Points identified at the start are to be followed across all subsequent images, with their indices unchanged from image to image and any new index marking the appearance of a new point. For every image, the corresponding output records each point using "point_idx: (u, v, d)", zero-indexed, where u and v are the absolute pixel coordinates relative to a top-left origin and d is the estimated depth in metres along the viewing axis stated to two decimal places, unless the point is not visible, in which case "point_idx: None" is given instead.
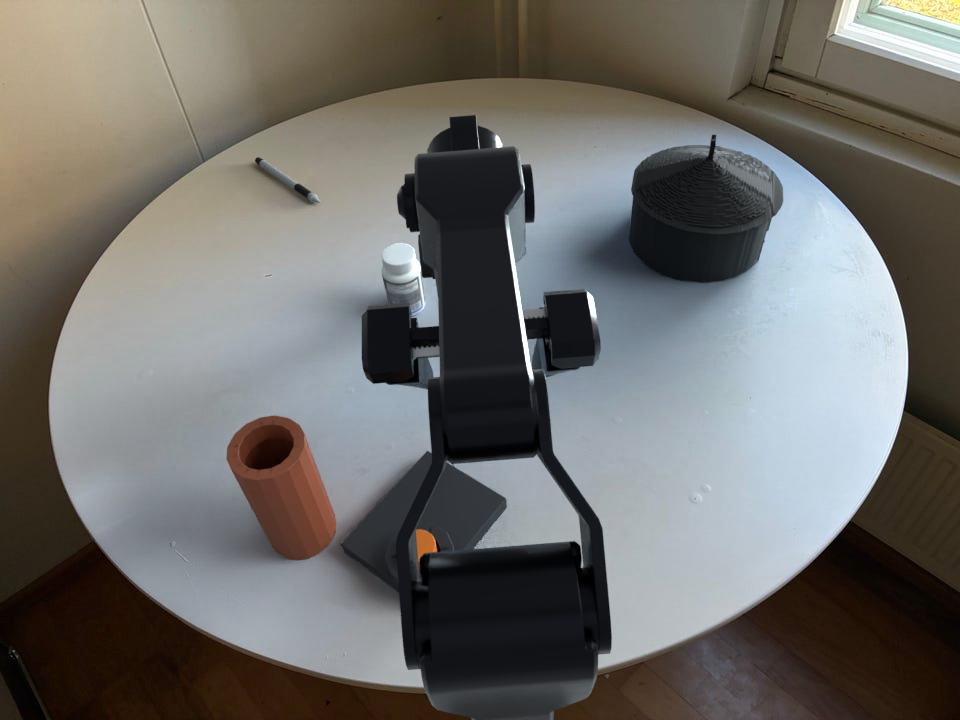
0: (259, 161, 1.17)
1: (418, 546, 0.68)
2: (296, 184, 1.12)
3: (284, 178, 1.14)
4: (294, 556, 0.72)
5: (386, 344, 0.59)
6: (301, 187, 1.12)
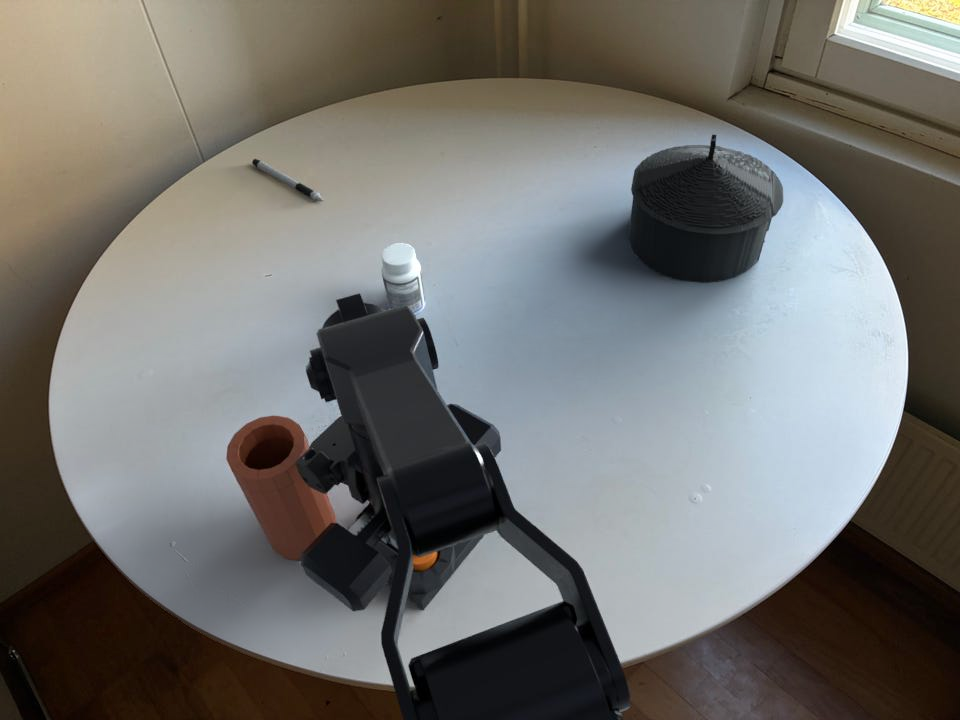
0: (257, 163, 1.17)
1: None
2: (297, 183, 1.12)
3: (284, 178, 1.14)
4: (294, 556, 0.72)
5: (352, 563, 0.57)
6: (303, 186, 1.12)
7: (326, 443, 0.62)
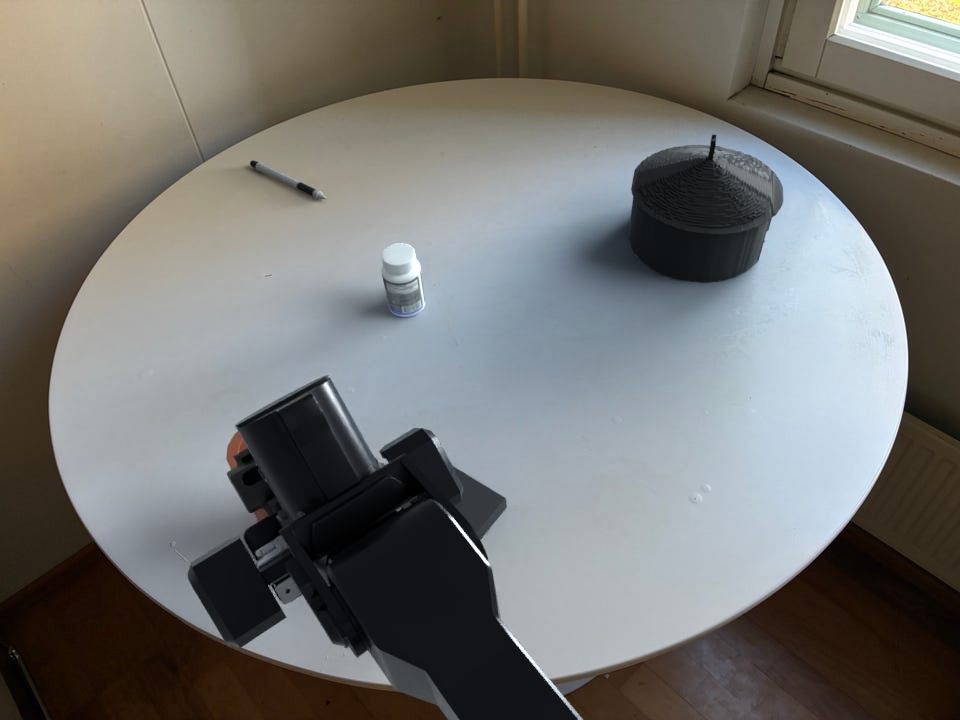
0: (255, 164, 1.17)
1: None
2: (298, 183, 1.13)
3: (285, 178, 1.14)
4: None
5: (247, 612, 0.49)
6: (304, 185, 1.12)
7: None
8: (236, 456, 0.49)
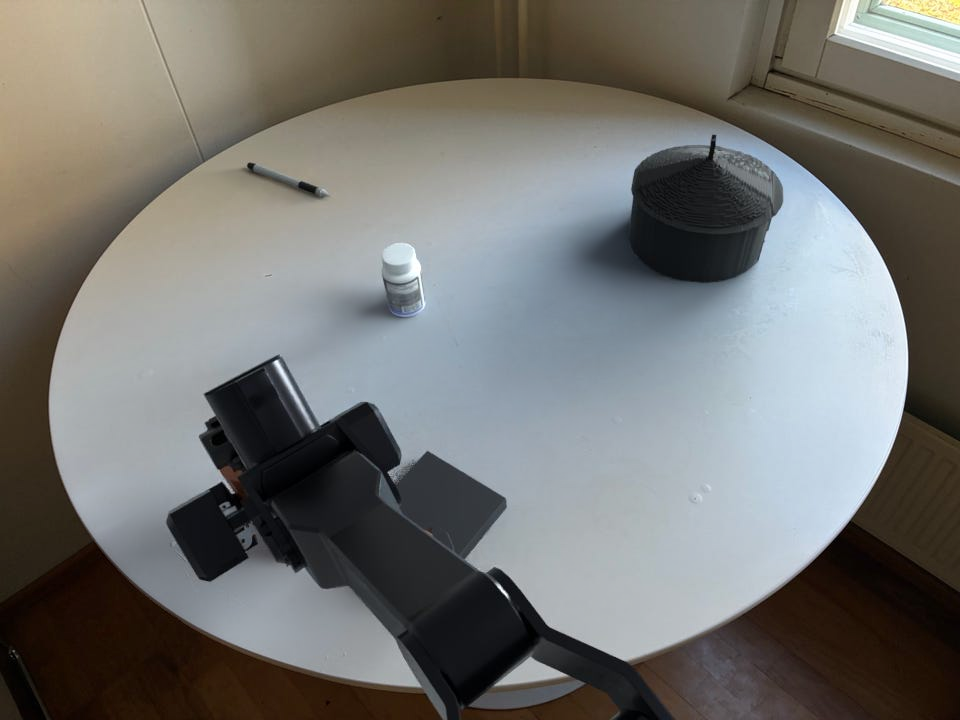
0: (252, 166, 1.16)
1: None
2: (300, 182, 1.13)
3: (285, 178, 1.14)
4: None
5: (216, 552, 0.59)
6: (306, 184, 1.12)
7: None
8: (206, 422, 0.59)
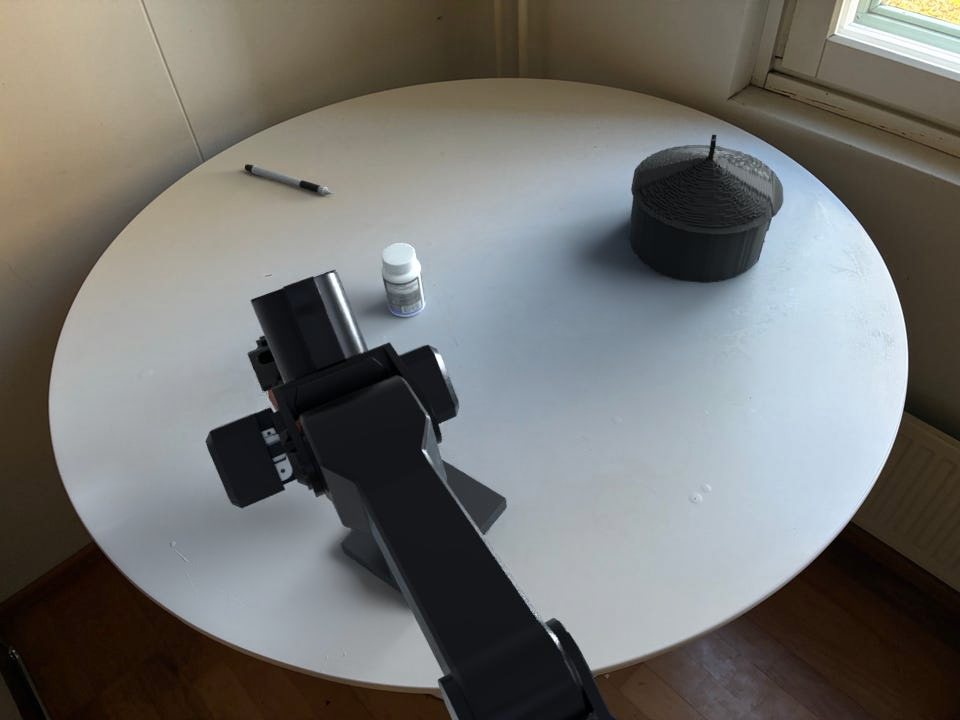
0: (250, 167, 1.16)
1: None
2: (301, 181, 1.13)
3: (285, 178, 1.14)
4: None
5: (251, 477, 0.56)
6: (308, 183, 1.12)
7: None
8: (258, 340, 0.56)
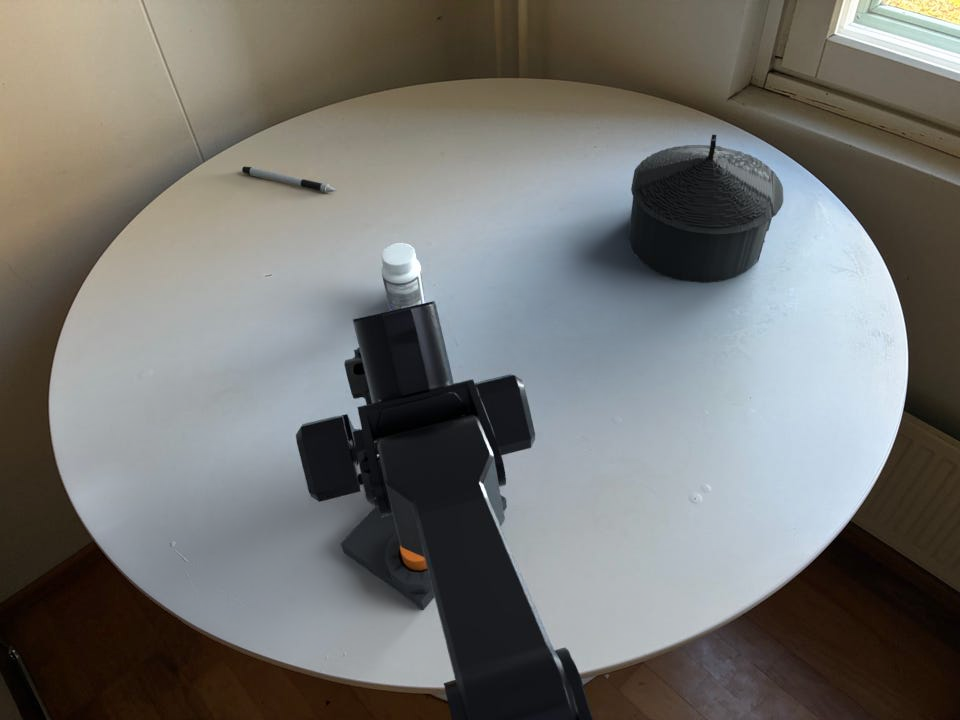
0: (248, 169, 1.16)
1: None
2: (302, 180, 1.13)
3: (286, 178, 1.14)
4: None
5: (331, 475, 0.60)
6: (309, 181, 1.13)
7: None
8: (356, 350, 0.59)
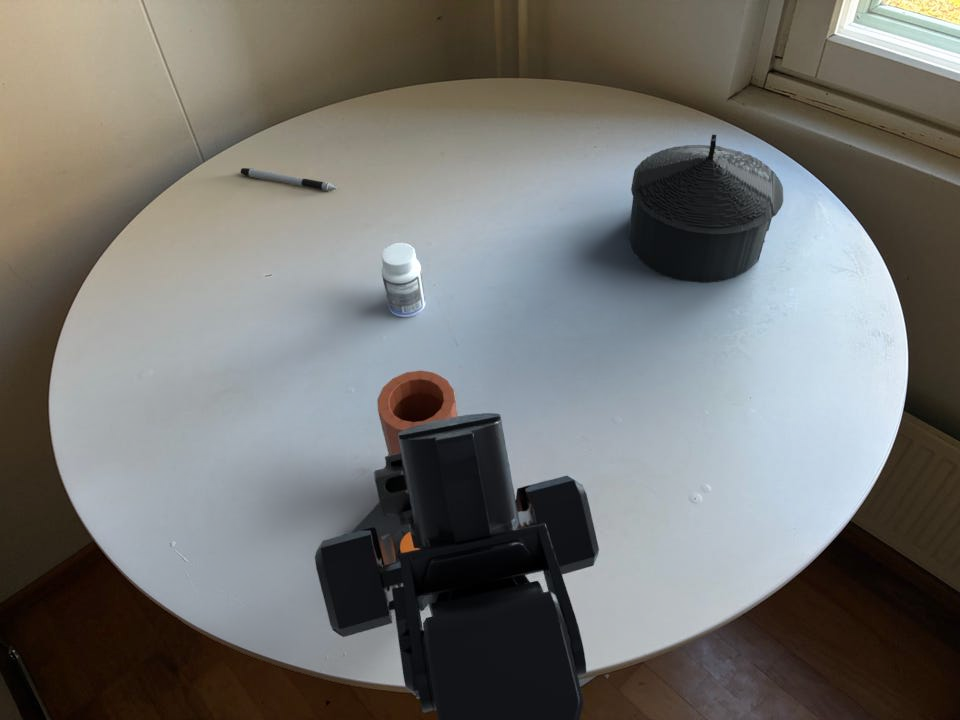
0: (247, 171, 1.15)
1: None
2: (303, 179, 1.13)
3: (286, 178, 1.14)
4: None
5: (358, 607, 0.50)
6: (310, 180, 1.13)
7: None
8: (387, 457, 0.49)
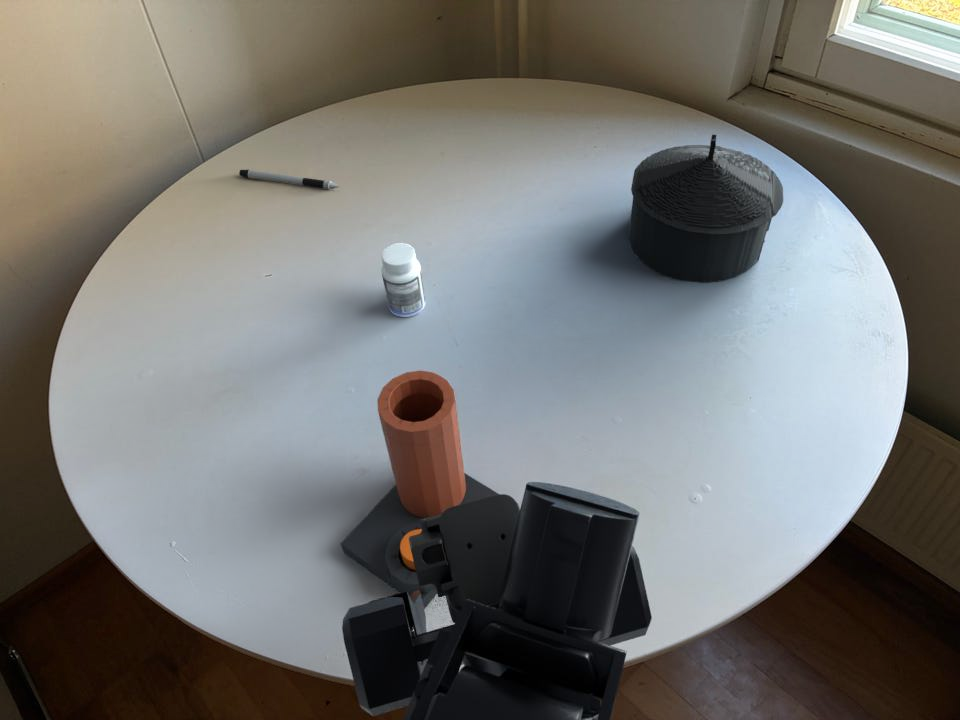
0: (246, 172, 1.15)
1: None
2: (303, 178, 1.13)
3: (286, 178, 1.14)
4: (414, 511, 0.73)
5: (389, 685, 0.45)
6: (311, 179, 1.13)
7: (462, 532, 0.44)
8: (423, 521, 0.45)
